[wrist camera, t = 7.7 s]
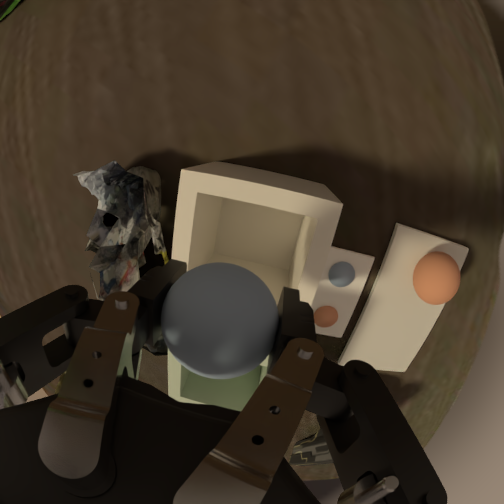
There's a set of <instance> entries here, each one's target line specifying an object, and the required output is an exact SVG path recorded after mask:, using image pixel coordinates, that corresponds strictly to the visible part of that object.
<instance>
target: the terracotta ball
mask: <svg viewBox="0 0 504 504" xmlns="http://www.w3.org/2000/svg"><path fill="white" fill-rule="evenodd" d="M459 285H460V270H459V267H458V265H457V263H456V261H455V260H454V259H453V258H452V257H451V256H450V255H448V254H447V253H444V252H439V251H435V252H430V253H428V254H426V255H425V256H423V257H422V258H421V259H420V260H419V261H418V263H417V265H416V267H415V269H414V272H413V286H414V289H415V291H416V293H417V295H418V296H419V297H420V298H421V299H422V300H423V301H424V302H426V303H428V304H432V305H440V304H443V303H446V302H448V301H449V300H450V299H451V298H452V297H453V296H454V295H455V294H456V292H457V290H458V288H459Z"/></svg>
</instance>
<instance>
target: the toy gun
mask: <svg viewBox="0 0 504 504" xmlns="http://www.w3.org/2000/svg"><path fill="white" fill-rule="evenodd" d="M329 463H334V462H333V460H332V457H331V454H330V452H329V449H328V446H327V444H326V441H325V438H324V436H323V433H322V430H321V429H320V430H319V431H318V432H317V433H316V434H315V435H314V436H313V437H312V438H308V439H305V440H301V441H298V442H297V443H296V444H295V446H294V449H293V453H292V455H290V459H289V464H291V465H298V466H308V465H320V464H329Z"/></svg>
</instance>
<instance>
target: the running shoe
mask: <svg viewBox="0 0 504 504" xmlns="http://www.w3.org/2000/svg"><path fill="white" fill-rule="evenodd" d="M19 1H21V0H0V20H2V19H3V18H4V17H5V16H6V15H7V14H9V13H10V12H11V11H12V10H13V9H14V8H15V7H16V5H17V4H18V3H19Z"/></svg>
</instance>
